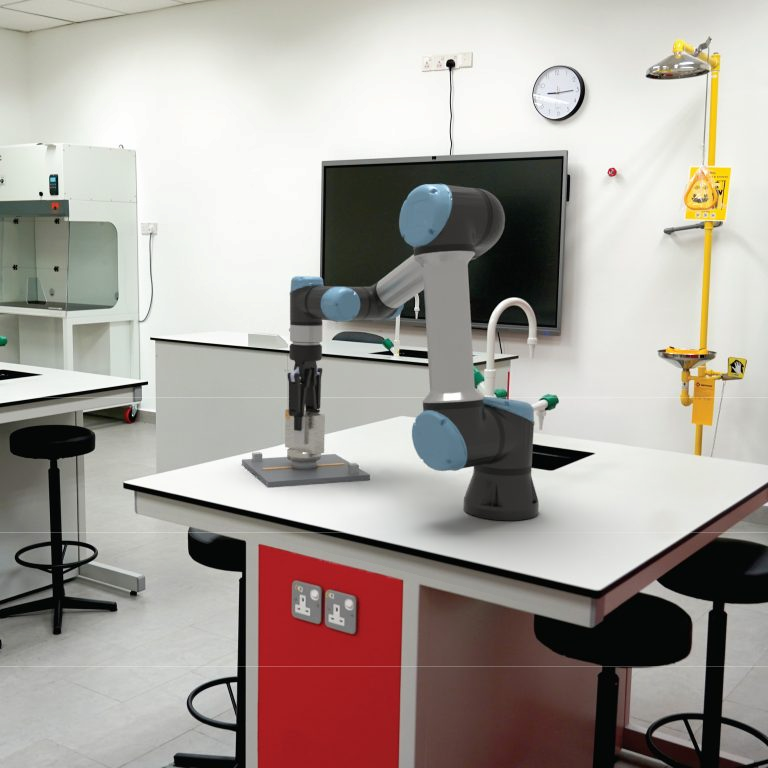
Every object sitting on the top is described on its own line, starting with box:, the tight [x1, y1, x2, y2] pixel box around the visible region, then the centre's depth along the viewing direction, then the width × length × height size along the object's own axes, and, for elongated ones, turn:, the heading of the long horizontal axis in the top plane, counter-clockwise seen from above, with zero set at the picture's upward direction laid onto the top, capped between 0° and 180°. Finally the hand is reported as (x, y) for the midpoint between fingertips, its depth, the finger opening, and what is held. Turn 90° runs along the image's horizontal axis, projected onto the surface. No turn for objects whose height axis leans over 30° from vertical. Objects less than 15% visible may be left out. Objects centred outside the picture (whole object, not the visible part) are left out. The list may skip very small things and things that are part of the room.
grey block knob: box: [284, 408, 326, 462], centre depth 213 cm, size 11×8×11 cm
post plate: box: [241, 451, 371, 488], centre depth 214 cm, size 24×24×3 cm
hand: (304, 441), depth 213 cm, fingers closed on grey block knob, 4 cm apart
